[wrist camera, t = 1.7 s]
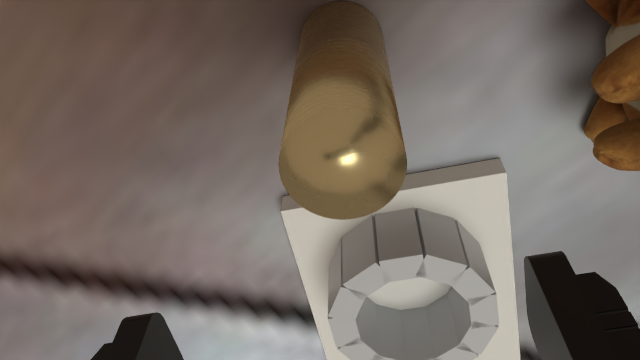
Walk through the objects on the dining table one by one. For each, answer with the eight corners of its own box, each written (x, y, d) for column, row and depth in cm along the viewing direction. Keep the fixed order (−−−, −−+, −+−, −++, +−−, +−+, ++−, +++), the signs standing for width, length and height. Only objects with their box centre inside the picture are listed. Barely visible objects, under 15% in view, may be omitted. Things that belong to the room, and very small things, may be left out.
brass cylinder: (375, -8, 28) (396, 96, 17) (388, 72, 30) (415, 208, 19) (291, 11, 28) (263, 122, 18) (310, 88, 30) (295, 228, 20)
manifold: (283, 196, 34) (273, 258, 29) (499, 158, 32) (527, 217, 27) (356, 438, 45) (358, 511, 40) (520, 419, 43) (542, 492, 38)
